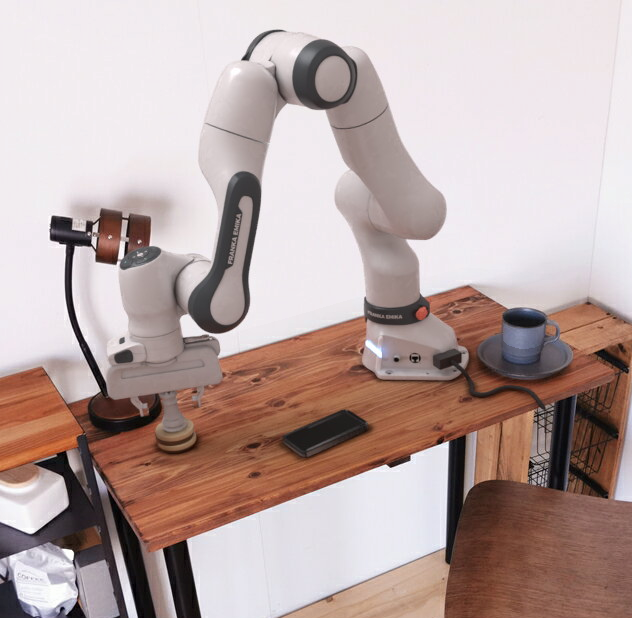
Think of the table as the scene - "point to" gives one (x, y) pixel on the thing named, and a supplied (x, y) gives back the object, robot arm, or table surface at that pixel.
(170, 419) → the rook chess piece
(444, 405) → the table surface
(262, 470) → the table surface
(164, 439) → the chip pile
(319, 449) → the phone
